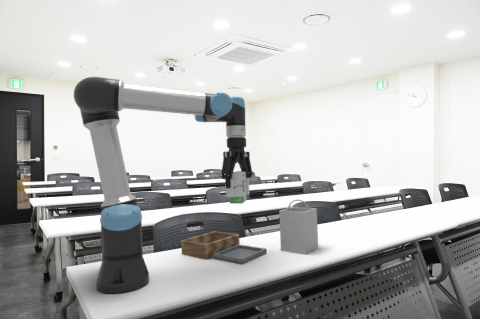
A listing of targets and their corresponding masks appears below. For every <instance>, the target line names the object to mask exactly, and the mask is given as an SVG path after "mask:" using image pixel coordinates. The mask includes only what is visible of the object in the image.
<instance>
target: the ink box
mask: <svg viewBox="0 0 480 319" xmlns="http://www.w3.org/2000/svg"><path fill="white" fill-rule="evenodd" d="M231 179H233V197H229V204H234V205H235V204H239V205H240V204H244V203H245V202H247V194H246V172H242V171H233V174H232V178H231Z"/></svg>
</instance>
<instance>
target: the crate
mask: <svg viewBox="0 0 480 319" xmlns="http://www.w3.org/2000/svg"><path fill="white" fill-rule="evenodd" d="M180 243H181V244H180V245H181V247H180V248H181V255H182V254H184V255H183V256H187V255H189V256H188V257H192V256H193V257H194V258H198V259H202V260H210V259H213V254H214V253H217V252H220V251H223V250H225V249H228V248H231V247H234V246H236V245H241V244H240V234H239V233H230V232H223V231H211V232H206V233H203V234H200V235H196V236H192V237H190V238H186V239H182V240H181V241H180ZM193 257H192V258H193Z"/></svg>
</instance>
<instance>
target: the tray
mask: <svg viewBox="0 0 480 319" xmlns="http://www.w3.org/2000/svg"><path fill="white" fill-rule="evenodd" d="M266 253H267V248H264V247H256V246H250V245H246V244H245V245H244V244H240V245H236V246H234V247H231V248H228V249H225V250H223V251H220V252H217V253H214V254H213V258H212V259H214V260H218V261H223V262H227V263H234V264H238V265H244V264H246V263H248V262H251V261H253V260H255V259H257V258H260V257H262V256H264V255H266Z"/></svg>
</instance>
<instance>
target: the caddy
mask: <svg viewBox="0 0 480 319" xmlns="http://www.w3.org/2000/svg"><path fill="white" fill-rule="evenodd" d="M278 211H279V232H280V233H279V234H280V236H279V237H280V251H281V252H282V251H283V252H289V253H295V254H303V255H308V254H310V253H311V252H313V251H315V250H317V249H319V238H318V237H319V232H318V230H319V229H318V209H317V208H312V207H308V210H307V207H296V206H295V207H294V206H292V207H291V206H290V208H289V211H288V207H287V208H284V209H280V210H278Z"/></svg>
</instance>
